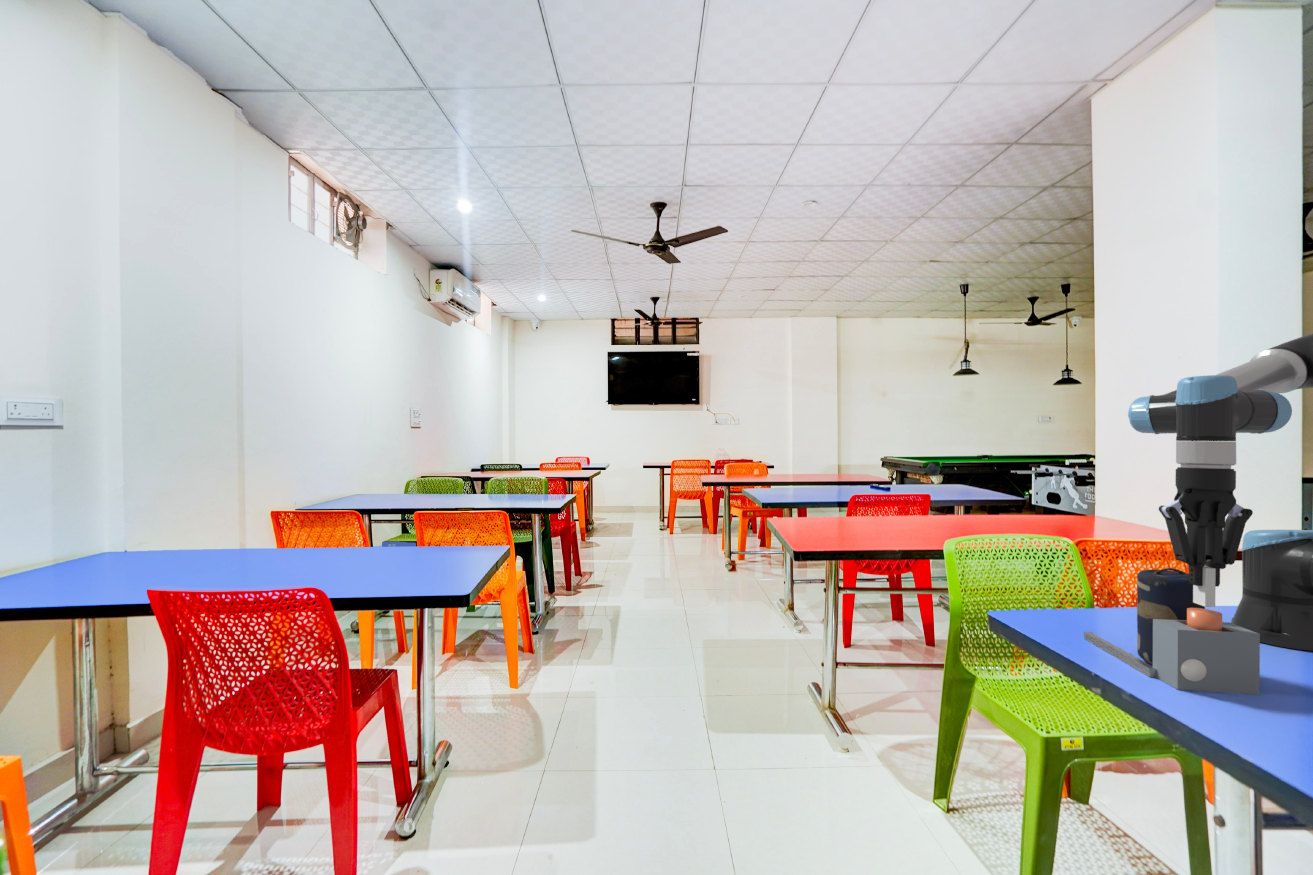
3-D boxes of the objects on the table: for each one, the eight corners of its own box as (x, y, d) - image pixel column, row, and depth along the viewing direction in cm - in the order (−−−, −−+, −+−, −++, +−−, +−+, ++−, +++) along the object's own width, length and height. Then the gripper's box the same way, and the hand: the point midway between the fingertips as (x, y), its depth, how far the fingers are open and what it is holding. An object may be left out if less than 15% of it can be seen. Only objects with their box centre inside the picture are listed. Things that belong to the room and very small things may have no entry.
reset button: (1208, 634, 101) (1208, 608, 101) (1229, 642, 97) (1229, 615, 97) (1180, 632, 102) (1180, 607, 102) (1199, 641, 98) (1199, 614, 98)
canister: (1219, 677, 103) (1219, 575, 103) (1156, 672, 105) (1157, 572, 105) (1181, 657, 112) (1182, 563, 112) (1125, 653, 114) (1126, 561, 114)
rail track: (1165, 642, 120) (1165, 635, 120) (1247, 682, 100) (1248, 674, 100) (1084, 638, 122) (1084, 631, 122) (1149, 677, 103) (1149, 668, 103)
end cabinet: (1229, 679, 102) (1229, 622, 102) (1261, 695, 95) (1261, 634, 95) (1152, 675, 103) (1152, 618, 103) (1179, 690, 97) (1179, 630, 97)
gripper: (1230, 466, 102) (1229, 600, 102) (1147, 465, 104) (1146, 596, 104) (1268, 468, 95) (1267, 613, 95) (1178, 466, 97) (1177, 608, 97)
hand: (1203, 604), depth 100 cm, fingers closed
